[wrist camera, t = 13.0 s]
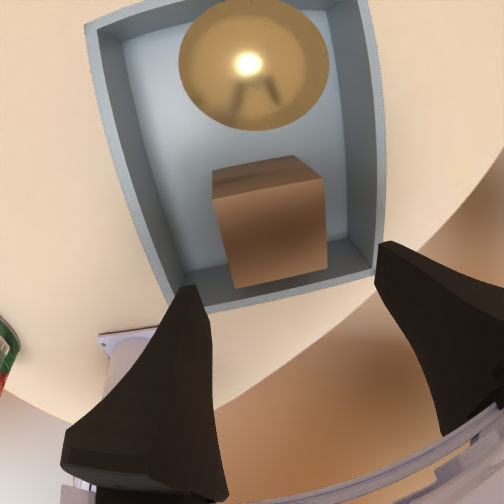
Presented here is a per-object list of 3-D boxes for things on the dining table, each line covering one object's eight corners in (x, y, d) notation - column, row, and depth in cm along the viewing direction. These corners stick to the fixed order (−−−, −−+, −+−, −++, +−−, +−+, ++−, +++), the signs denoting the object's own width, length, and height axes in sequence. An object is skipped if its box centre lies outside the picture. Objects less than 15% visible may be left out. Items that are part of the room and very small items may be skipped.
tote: (348, 236, 21) (379, 273, 17) (180, 272, 21) (175, 319, 16) (326, 7, 12) (363, -15, 8) (116, 40, 12) (83, 24, 7)
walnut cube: (301, 226, 19) (327, 268, 15) (228, 242, 19) (235, 288, 15) (293, 154, 16) (323, 178, 12) (212, 170, 16) (212, 199, 12)
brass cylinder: (288, 105, 15) (340, 117, 9) (204, 125, 15) (200, 147, 9) (270, 28, 12) (311, -9, 6) (182, 47, 12) (163, 15, 6)
